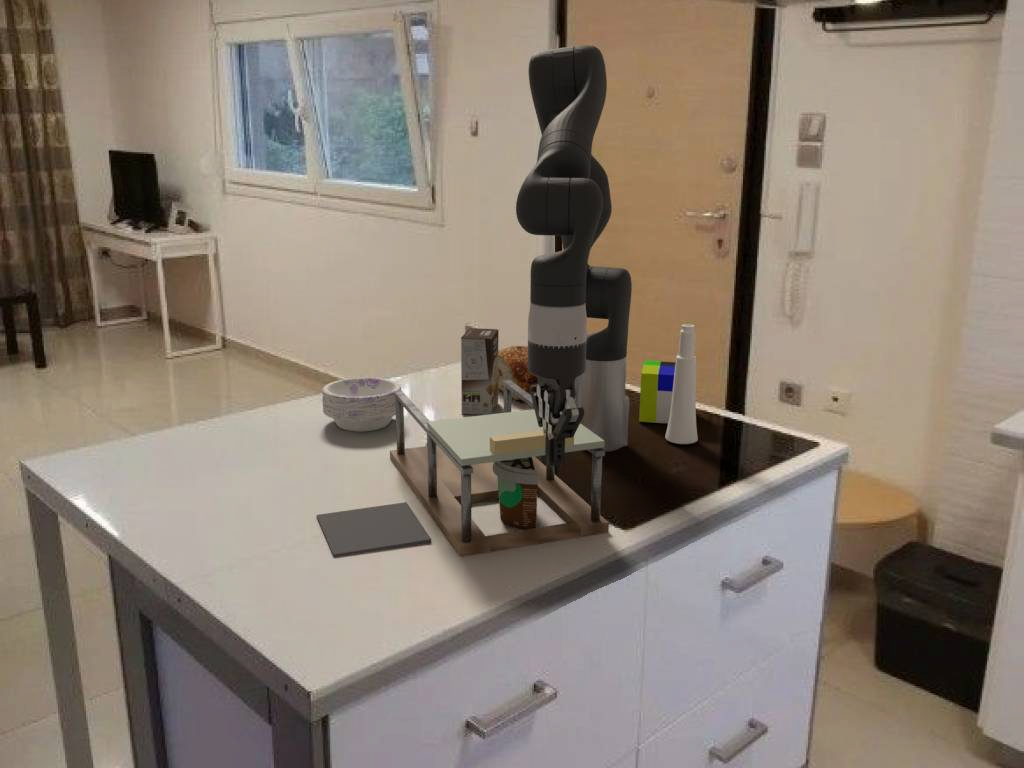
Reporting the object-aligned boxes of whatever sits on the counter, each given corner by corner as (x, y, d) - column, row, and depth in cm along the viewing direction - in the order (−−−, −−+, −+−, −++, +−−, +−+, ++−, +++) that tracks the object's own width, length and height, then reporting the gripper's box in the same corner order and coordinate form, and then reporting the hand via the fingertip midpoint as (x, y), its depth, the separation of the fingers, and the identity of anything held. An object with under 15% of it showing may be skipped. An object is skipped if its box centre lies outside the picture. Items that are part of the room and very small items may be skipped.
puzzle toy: (689, 425, 186) (692, 376, 183) (639, 421, 188) (641, 373, 185) (690, 409, 195) (693, 363, 193) (642, 406, 197) (644, 360, 195)
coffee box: (492, 416, 191) (492, 338, 186) (460, 414, 191) (460, 337, 187) (498, 402, 199) (499, 328, 195) (469, 401, 200) (468, 327, 196)
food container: (490, 502, 149) (489, 442, 146) (528, 501, 150) (529, 441, 147) (495, 536, 137) (495, 472, 134) (537, 535, 138) (538, 471, 135)
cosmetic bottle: (704, 440, 177) (712, 326, 171) (681, 446, 174) (688, 330, 168) (681, 431, 182) (688, 320, 176) (658, 437, 179) (664, 324, 172)
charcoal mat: (406, 505, 148) (406, 502, 147) (431, 542, 135) (431, 539, 135) (316, 518, 143) (316, 514, 143) (333, 558, 130) (333, 554, 130)
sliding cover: (557, 412, 151) (557, 394, 150) (604, 447, 136) (604, 427, 135) (427, 427, 144) (426, 409, 143) (461, 466, 128) (461, 445, 128)
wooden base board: (511, 443, 175) (511, 435, 175) (608, 531, 139) (608, 522, 138) (390, 458, 167) (389, 450, 167) (459, 556, 131) (459, 546, 130)
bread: (480, 381, 215) (480, 339, 212) (553, 374, 221) (554, 333, 218) (512, 407, 197) (512, 361, 194) (591, 398, 203) (592, 354, 200)
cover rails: (509, 437, 173) (509, 379, 170) (602, 522, 139) (605, 450, 135) (395, 451, 166) (393, 391, 163) (464, 544, 131) (463, 469, 128)
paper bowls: (383, 408, 195) (382, 371, 193) (415, 429, 183) (414, 390, 180) (312, 420, 187) (310, 382, 185) (340, 443, 175) (338, 402, 173)
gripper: (606, 346, 116) (602, 477, 121) (563, 323, 128) (560, 444, 133) (550, 351, 113) (548, 485, 118) (511, 328, 125) (510, 450, 130)
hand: (554, 463), depth 125 cm, fingers closed
